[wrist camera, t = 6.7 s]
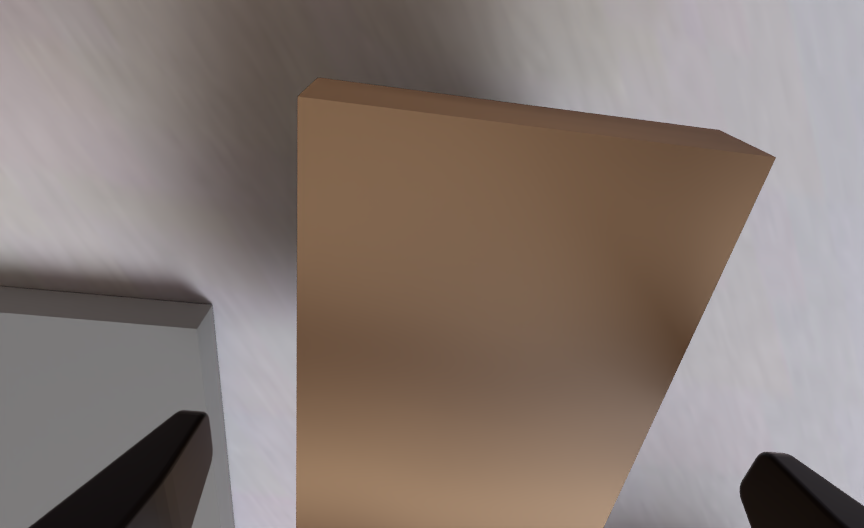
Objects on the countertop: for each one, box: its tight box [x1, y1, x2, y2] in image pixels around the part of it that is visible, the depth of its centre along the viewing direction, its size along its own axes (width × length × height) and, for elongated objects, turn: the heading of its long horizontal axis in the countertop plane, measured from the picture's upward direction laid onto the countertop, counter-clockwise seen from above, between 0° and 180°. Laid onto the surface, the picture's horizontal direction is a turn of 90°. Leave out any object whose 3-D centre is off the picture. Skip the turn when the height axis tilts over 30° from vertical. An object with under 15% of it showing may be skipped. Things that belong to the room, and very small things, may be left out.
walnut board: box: [296, 78, 776, 528], centre depth 10 cm, size 10×6×2 cm, turn 173°
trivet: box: [0, 286, 235, 528], centre depth 17 cm, size 12×10×1 cm
